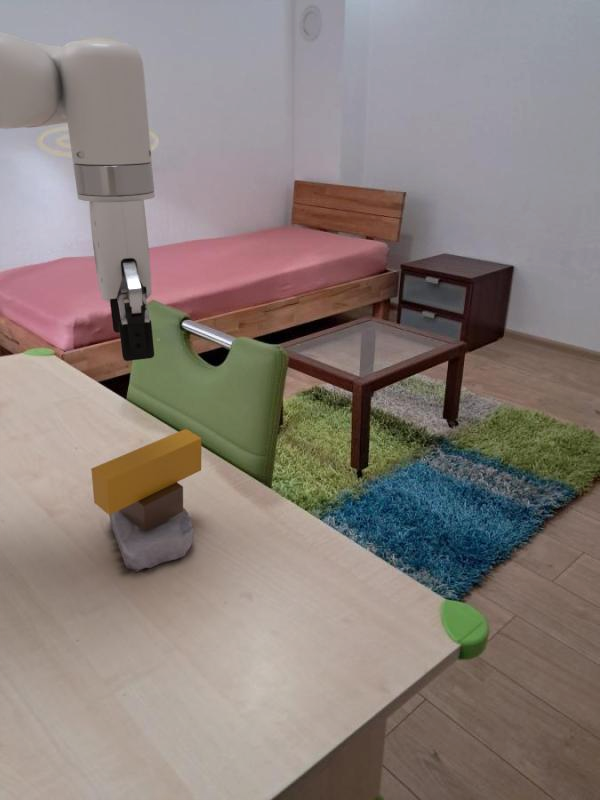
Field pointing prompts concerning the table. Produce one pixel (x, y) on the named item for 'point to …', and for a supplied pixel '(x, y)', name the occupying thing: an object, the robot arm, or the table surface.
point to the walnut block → (156, 507)
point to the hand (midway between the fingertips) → (133, 343)
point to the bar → (146, 471)
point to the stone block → (152, 540)
